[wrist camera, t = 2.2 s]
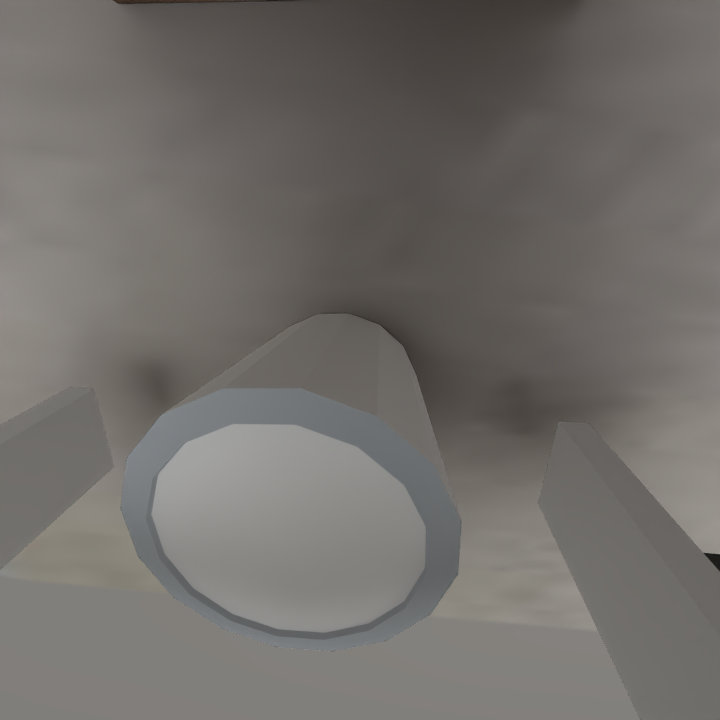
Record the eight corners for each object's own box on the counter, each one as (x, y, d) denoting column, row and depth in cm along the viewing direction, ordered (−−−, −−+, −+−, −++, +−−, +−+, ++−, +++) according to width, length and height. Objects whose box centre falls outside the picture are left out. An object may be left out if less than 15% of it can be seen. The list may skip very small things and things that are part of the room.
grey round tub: (413, 478, 15) (421, 683, 9) (244, 447, 15) (131, 623, 9) (455, 312, 12) (511, 430, 6) (250, 278, 13) (93, 355, 6)
